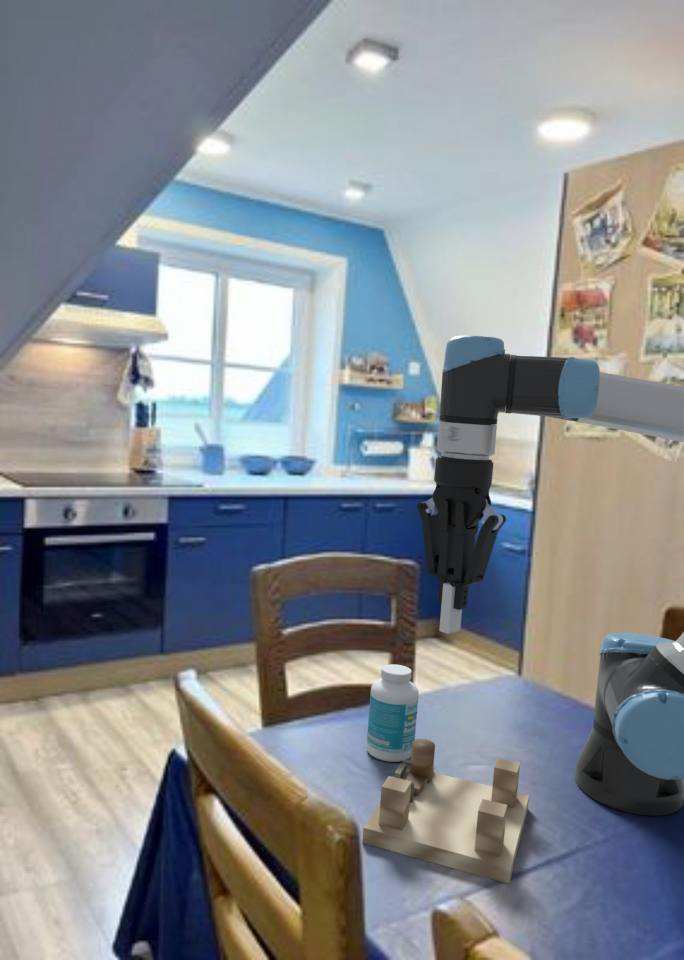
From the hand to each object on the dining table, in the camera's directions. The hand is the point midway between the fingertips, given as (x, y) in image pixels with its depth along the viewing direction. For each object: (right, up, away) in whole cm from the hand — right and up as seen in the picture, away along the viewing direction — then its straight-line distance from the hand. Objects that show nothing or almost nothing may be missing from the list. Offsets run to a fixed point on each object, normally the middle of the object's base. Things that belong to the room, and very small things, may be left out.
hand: (449, 630), depth 102 cm
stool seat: (0, -25, -3) cm, 25 cm away
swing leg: (-4, -22, +3) cm, 22 cm away
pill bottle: (-7, -23, +17) cm, 29 cm away
